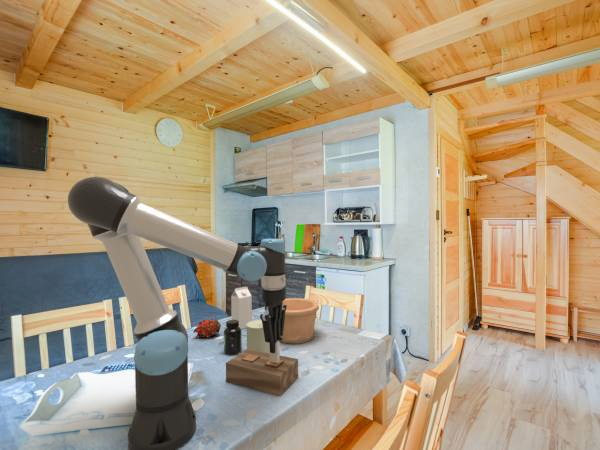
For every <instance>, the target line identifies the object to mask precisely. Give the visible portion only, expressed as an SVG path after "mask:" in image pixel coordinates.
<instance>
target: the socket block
mask: <svg viewBox="0 0 600 450" xmlns="http://www.w3.org/2000/svg"><path fill="white" fill-rule="evenodd" d="M249 354H251V355H255V356H259V359H257V360H256V361H255V362H253V363H251V362H247V361H242V359H243V358H244V357H246V356H247V355H249ZM280 360H282V361H283V364H282V365H281V366H279V367H278V368H273V367H268V366H266V363H267V362H268V361H270V353H266V352H261V351H257V350H252V349H247V348H246V349H245V350H243V351H241V352H240V353H239V354H236V356H234V357H233V358H231V359H230V360H228V361H226V362H225V382H226V383H227V382H228V383H232V384H234V385H238V386H241V387H245V388H248V389H253V390H256V391H259V392H263V393H268V394H271V395H274V396H277V397H281V396H282V395H283V394H284V393H285V392H286V391H287V390H288V389H290V387H291V386H292V385H293V383H295V382H296V380H297V379H298V378H299V359H298V358H294V357H290V356H284V355H280Z"/></svg>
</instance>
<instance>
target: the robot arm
mask: <svg viewBox="0 0 600 450" xmlns="http://www.w3.org/2000/svg"><path fill="white" fill-rule="evenodd" d="M67 205H68V209H69V210H70V212H71V214H72V215H73V216H74V217H75V218H76V219H77V220H79V221H80V222H82V223H84V224H87V226H88V229H89V231H90V233H91V236H92V237H93V239H95V240H98V241H101V242H102V244H103V246H104V248H105V252H106V253H107V256H108V259H109V260H110V262H111V265H112V267H113V270H114V272H115V274H116V277H117V279H118V281H119V285H120V286H121V289H122V291H123V293H124V296H125V298H126V300H127V303H128V305H129V307H130V309H131V313H132V314H133V317H134V319H135V321H136V325H135V328H134V329H133V333H134V336H135V339H136V340H137V344H136V346H135V348H134V355H133V361H134V371H135V372H134V375H135V376H134V380H135V382H134V386H135V387H134V388H135V411H134V413H133V417H132V421H131V425H130V427H129V430H128V433H127V447H128V450H178V449H180V448H182V447H183V446H184V445H185V444H187V443H188V442H189V441H190V440H191V439H192V438H193V436H194V435H195V433H196V430H197V417H196V412H195V411H194V408H193V405H192V403H191V401H190V397H189V364H188V361H189V358H188V357H189V356H188V353H189V333H188V331H187V328H186V327H185V326H184V324H183V323H182V322H181V320H180V318H179V315H178V312H177V310H173V309H171V308H169V306H168V303H167V301H166V299H165V296H164V293H163V291H162V288H161V286H160V283H159V282H158V279H157V276H156V273H155V272H154V268H153V266H152V264H151V261H150V259H149V256H148V254H147V252H146V249H145V246H144V245H143V242H142V240H141V239H144V240H147V241H148V242H151V243H154V244H157V245H159V246H162V247H164V248H167V249H169V250H172V251H175V252H177V253H180V254H183V255H185V256H188V257H190V258H193V259H194V260H195V259H196V260H198V261H200V262H203V263H206V264H208V265H211V266H213V267H215V268H218V269H221V270H223V272H224V273H231V274H233V275H236V276H238V277H240V278H241V279H242V280H244V281H248V282H257V281H259V280H261V287H262V289H261V300H262V302H264V311H263V313H260V315H259V318H260V320H262V325H263V331H264V337H265V342H269V343H270V362H274V363H278V362H279V361H280V356H281V355H280V350H281V349H280V341H279V340H281V341H282V339H283V338H281V336H283V332H284V321H285V312H286V308H287V305H283V302H282V301H284V300H285V299H287V297H286V296H287V295H286V292H287V291H286V290H287V289H286V288H285V287H286V281H287V278H286V246H285V241H284V240H283V239H282V238H281V239H280V238H264V239H261V240H260V244H259V245H256V246H243V245H240V244H238V243H236V242H234V241H231V240H229V239H227V238H224V237H222V236H220V235H218V234H215V233H214V232H211V231H208V230H205V229H204V228H201V227H198V226H196V225H195V224H191V223H190V222H187V221H185V220H183V219H180V218H178V217H176V216H173V215H171V214H169V213H166V212H164V211H162V210H159V209H157V208H154V207H152V206H150V205H148V204H145V203H143V202H141V199H140V197H139V196H137V195H136V194H134V193H131V192H130V191H129V190H128V189H127V188H126V187H125V186H123V185H122V184H120V183H117V182H116V181H115V182H114V181H113V180H111V179H108V178H105V177H101V176H91V177H85V178H83V179H81V180H79V181H77V182H76V183H75V184H73V186H72V187H71V188H70V190H69V192H68V196H67Z"/></svg>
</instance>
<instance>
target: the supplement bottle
mask: <svg viewBox="0 0 600 450" xmlns="http://www.w3.org/2000/svg"><path fill="white" fill-rule="evenodd" d="M225 324H226V325H225V329H224V330H223V352H224V354H225V355H228V356H235V355H236V356H237V355H239V354H240V353H242V347H243V345H242V343H243V342H242V339H243V338H242V336H243V335H242V334H243V333H242V329H241V328H240V327H238V326H239V321H238V320H232V319H229V320H228V319H227V320H226V322H225Z"/></svg>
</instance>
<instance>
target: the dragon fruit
mask: <svg viewBox="0 0 600 450" xmlns="http://www.w3.org/2000/svg"><path fill="white" fill-rule="evenodd" d="M221 326H222V324H221V323H220V321H218V320H217V319H213V318H211V317H210V318H209V319H206V318H205V319H203V320H202V321H200V322H199V323H198V325H197V326H196V327H195V328H194V330H193V333H196V336H197V337H199V338H206V337H207V339H210V338H211V337H214V336H215V334H218V333H220V330H221Z"/></svg>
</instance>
